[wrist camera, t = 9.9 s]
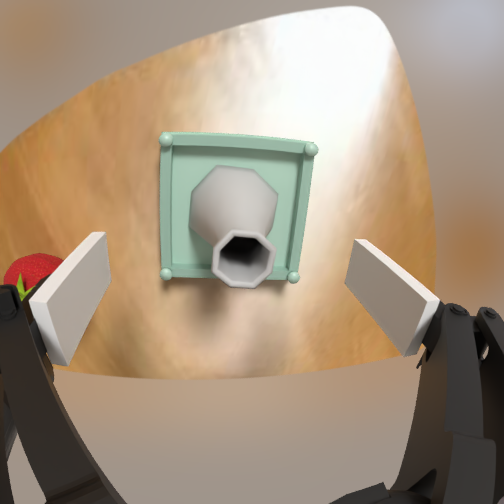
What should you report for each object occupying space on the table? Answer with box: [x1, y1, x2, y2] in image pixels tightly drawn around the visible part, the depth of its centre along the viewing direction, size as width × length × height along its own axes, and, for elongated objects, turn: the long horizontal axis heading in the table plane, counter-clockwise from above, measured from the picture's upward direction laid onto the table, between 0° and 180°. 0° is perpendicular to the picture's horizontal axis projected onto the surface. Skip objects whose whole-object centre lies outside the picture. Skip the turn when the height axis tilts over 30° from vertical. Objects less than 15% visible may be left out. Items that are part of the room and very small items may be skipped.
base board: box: [159, 132, 318, 284], centre depth 23 cm, size 12×12×3 cm
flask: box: [188, 165, 279, 289], centre depth 19 cm, size 7×7×10 cm
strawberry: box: [4, 253, 64, 301], centre depth 20 cm, size 6×8×10 cm
